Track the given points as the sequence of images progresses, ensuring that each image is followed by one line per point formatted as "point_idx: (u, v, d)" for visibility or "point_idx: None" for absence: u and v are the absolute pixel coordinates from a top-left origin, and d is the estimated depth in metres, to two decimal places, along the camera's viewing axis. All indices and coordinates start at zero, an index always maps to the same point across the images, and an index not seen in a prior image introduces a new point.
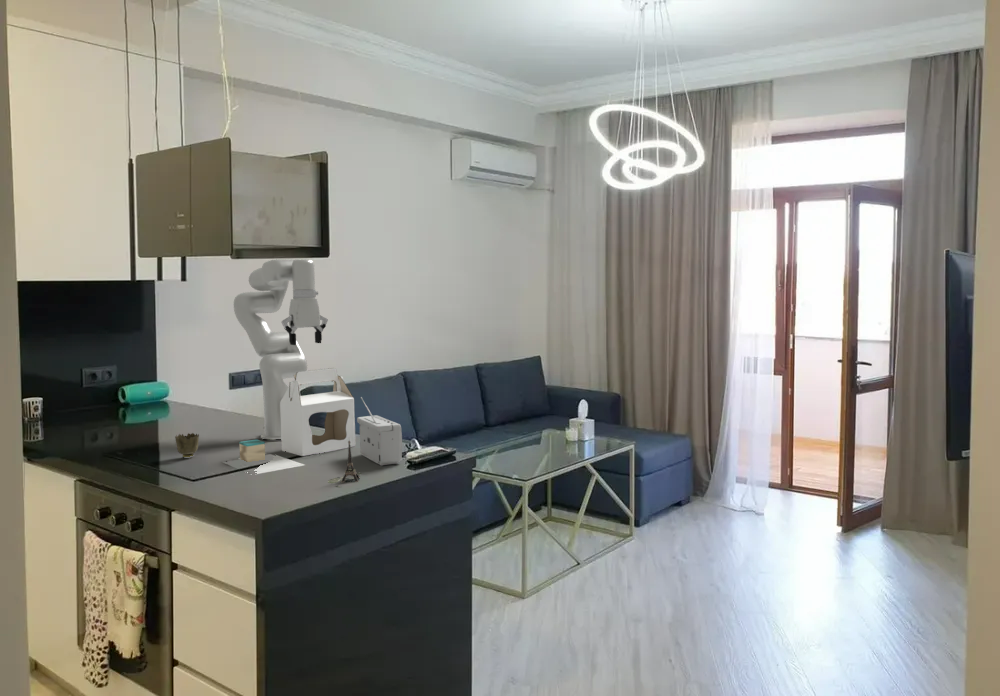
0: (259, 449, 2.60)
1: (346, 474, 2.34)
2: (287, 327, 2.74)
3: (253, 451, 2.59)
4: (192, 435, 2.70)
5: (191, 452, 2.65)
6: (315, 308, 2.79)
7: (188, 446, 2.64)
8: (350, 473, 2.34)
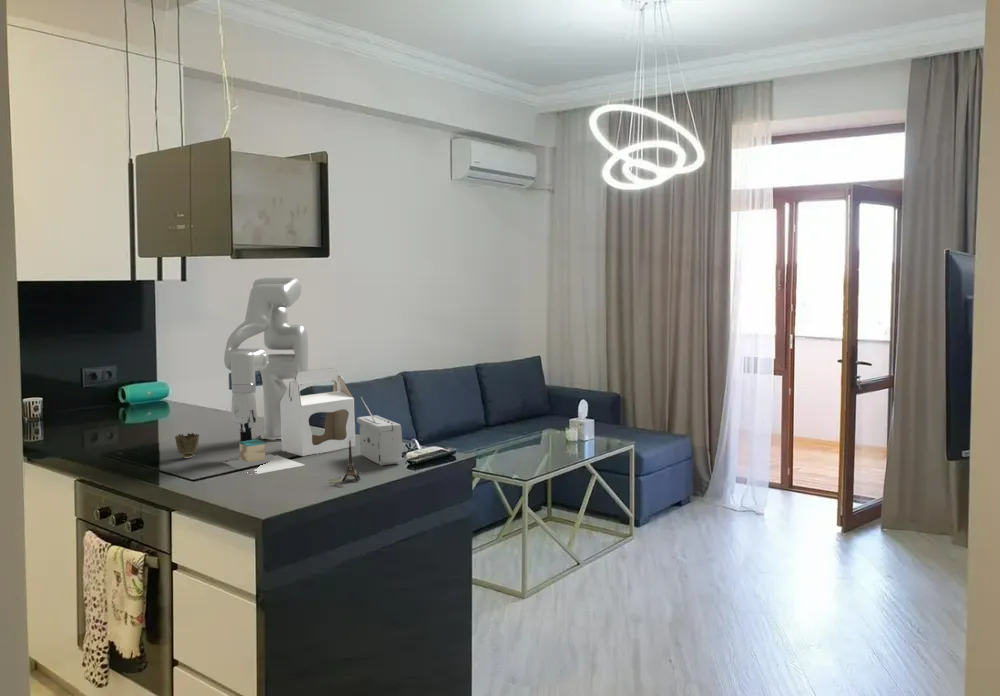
0: (259, 449, 2.60)
1: (347, 474, 2.34)
2: None
3: (253, 451, 2.59)
4: (192, 435, 2.70)
5: (191, 452, 2.65)
6: None
7: (188, 446, 2.64)
8: (351, 473, 2.34)
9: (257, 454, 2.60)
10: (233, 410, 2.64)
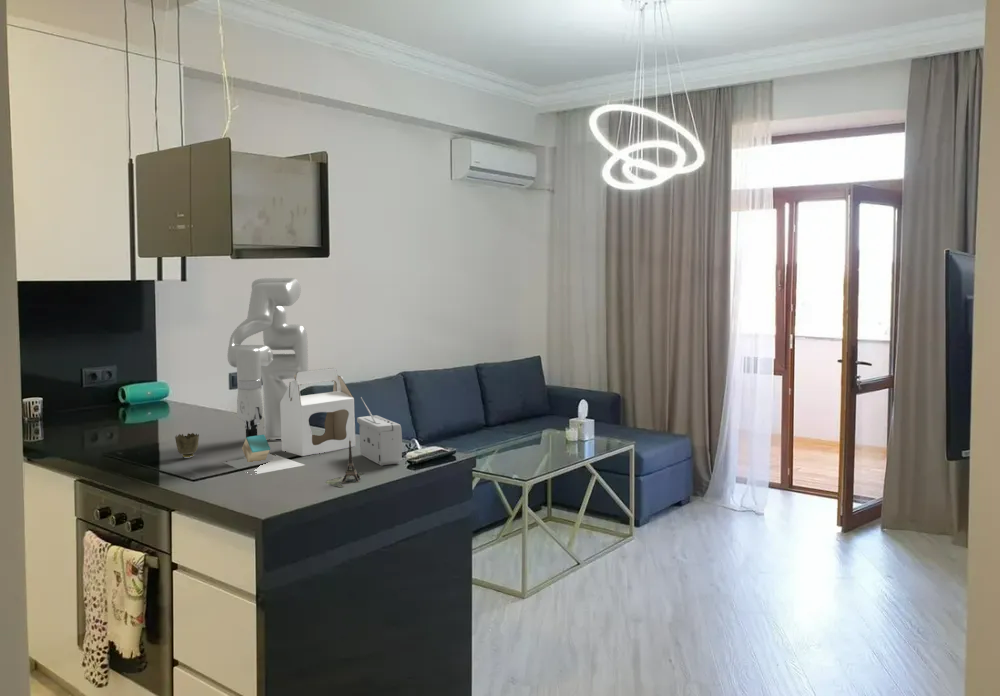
0: (263, 453, 2.59)
1: (347, 474, 2.34)
2: None
3: (256, 455, 2.57)
4: (192, 435, 2.70)
5: (191, 452, 2.65)
6: None
7: (188, 446, 2.64)
8: (351, 473, 2.34)
9: (259, 457, 2.59)
10: (239, 407, 2.61)
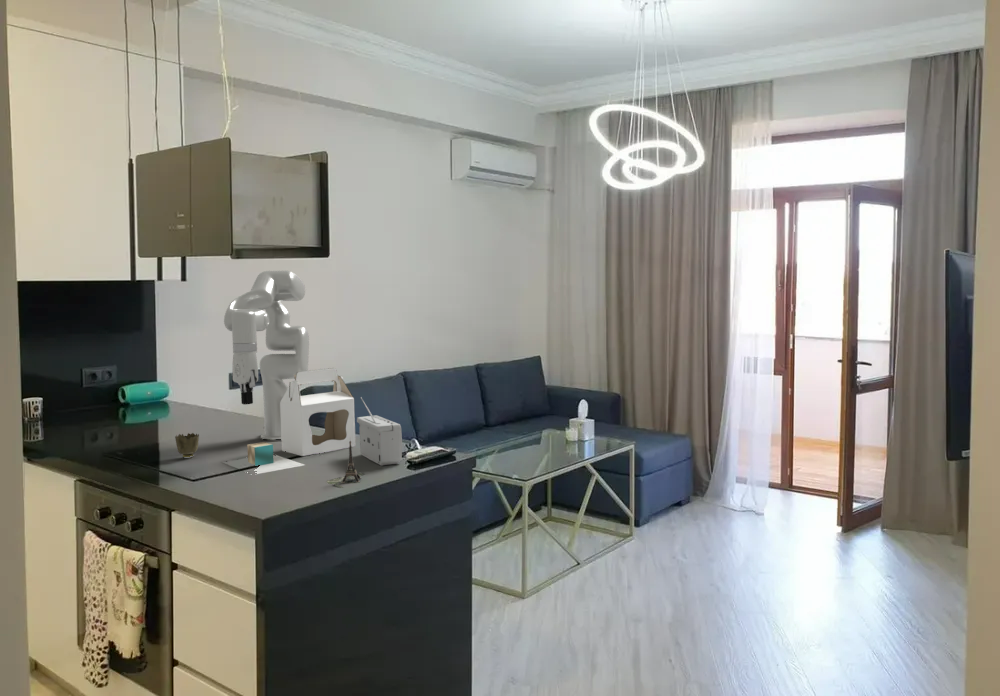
0: None
1: (347, 474, 2.34)
2: None
3: None
4: (192, 435, 2.70)
5: (191, 452, 2.65)
6: None
7: (188, 446, 2.64)
8: (351, 473, 2.34)
9: None
10: (234, 370, 2.61)
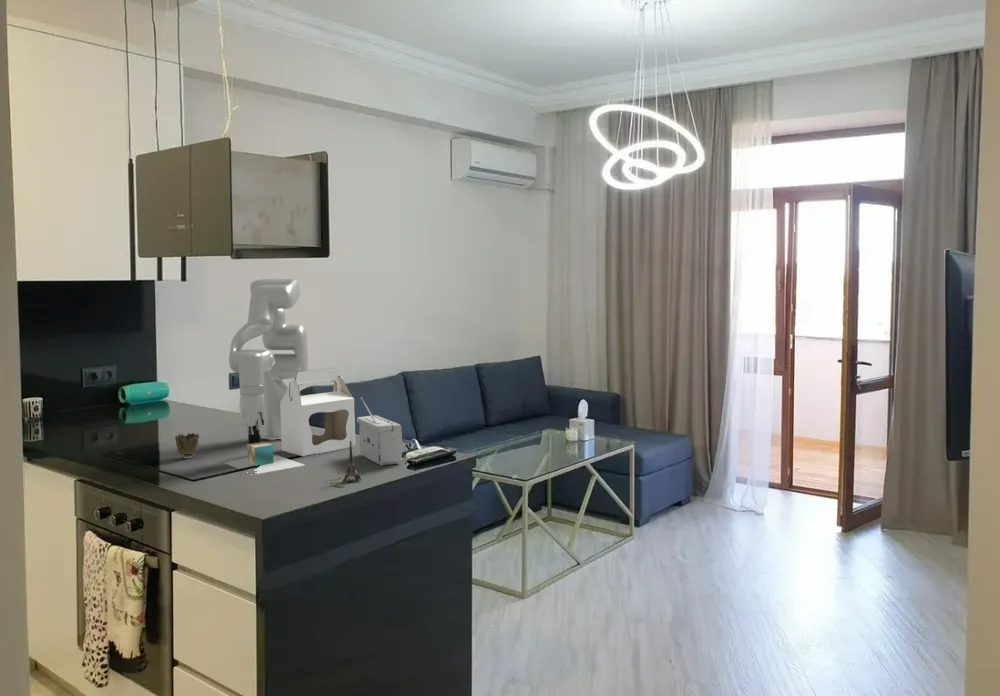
0: None
1: (347, 474, 2.33)
2: None
3: None
4: (192, 435, 2.70)
5: (191, 452, 2.65)
6: None
7: (188, 446, 2.64)
8: (351, 473, 2.34)
9: None
10: (241, 412, 2.60)
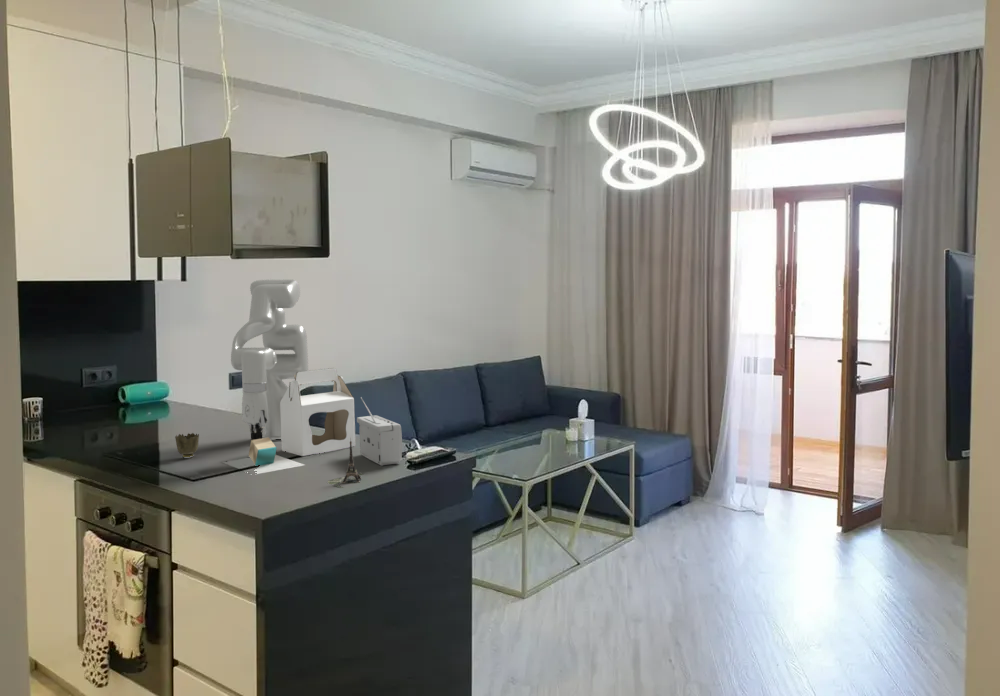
0: None
1: (347, 474, 2.33)
2: None
3: None
4: (192, 435, 2.70)
5: (191, 452, 2.65)
6: None
7: (188, 446, 2.64)
8: (351, 473, 2.34)
9: None
10: (243, 410, 2.58)
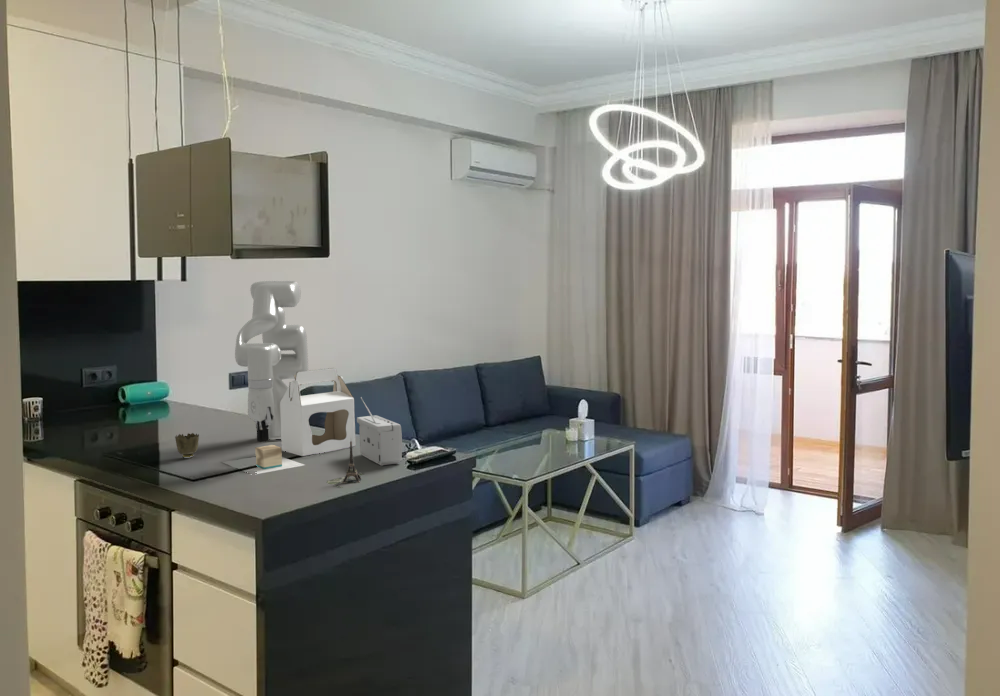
0: None
1: (347, 475, 2.33)
2: None
3: None
4: (192, 435, 2.70)
5: (191, 452, 2.65)
6: None
7: (188, 446, 2.64)
8: (351, 474, 2.34)
9: None
10: (249, 407, 2.55)
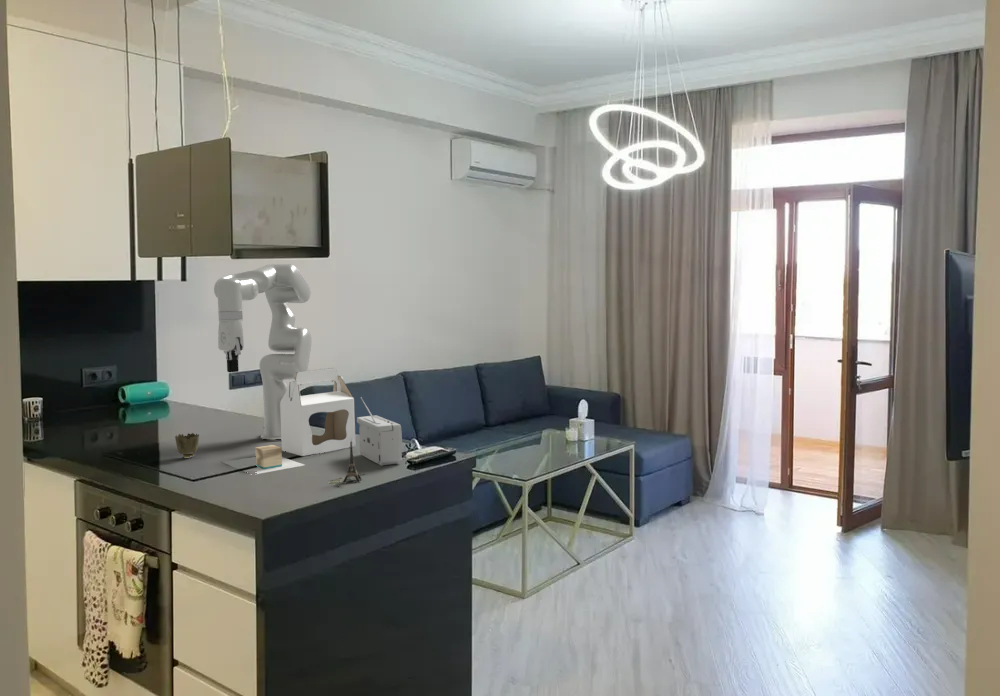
0: None
1: (348, 475, 2.33)
2: None
3: None
4: (192, 435, 2.70)
5: (191, 452, 2.65)
6: None
7: (188, 446, 2.64)
8: (352, 474, 2.33)
9: None
10: (220, 338, 2.63)
